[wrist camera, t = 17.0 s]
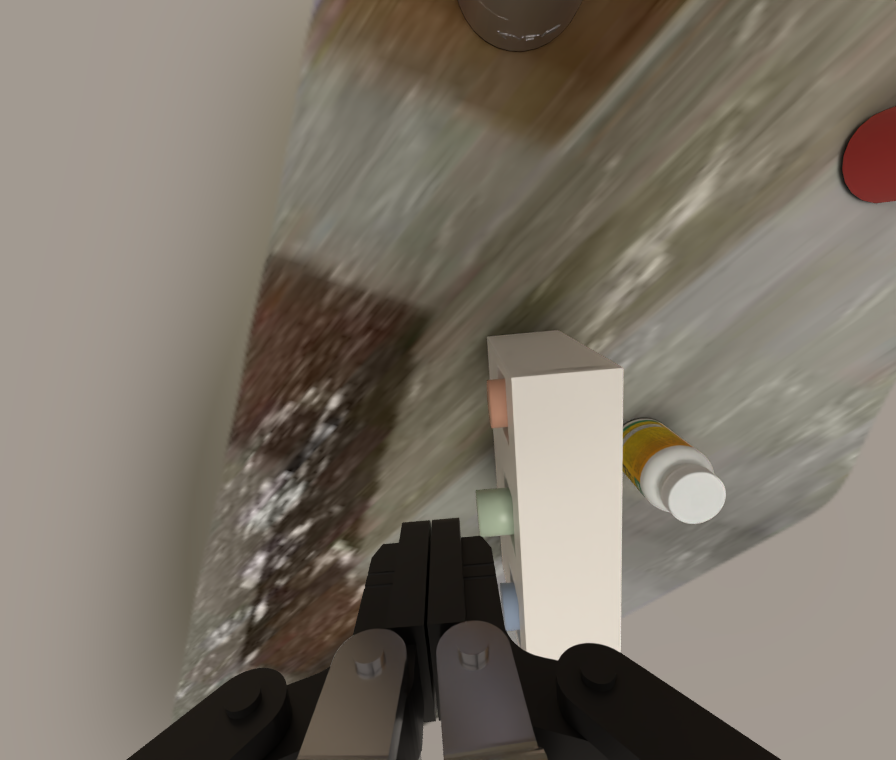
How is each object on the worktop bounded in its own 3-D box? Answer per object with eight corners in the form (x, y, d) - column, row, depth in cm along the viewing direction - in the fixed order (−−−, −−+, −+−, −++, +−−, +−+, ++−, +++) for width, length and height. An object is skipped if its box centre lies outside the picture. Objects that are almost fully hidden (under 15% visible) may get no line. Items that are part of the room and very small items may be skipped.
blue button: (499, 574, 35) (504, 604, 32) (545, 570, 35) (555, 600, 32) (501, 608, 36) (507, 641, 33) (546, 604, 36) (556, 637, 32)
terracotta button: (485, 374, 31) (490, 387, 28) (538, 370, 31) (548, 382, 28) (488, 418, 32) (493, 435, 28) (539, 414, 32) (550, 430, 28)
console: (486, 336, 38) (511, 377, 24) (558, 330, 38) (623, 367, 24) (502, 562, 43) (529, 699, 30) (564, 557, 43) (620, 692, 30)
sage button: (474, 482, 33) (478, 504, 30) (524, 477, 33) (532, 500, 30) (478, 520, 34) (481, 546, 31) (526, 516, 34) (534, 542, 30)
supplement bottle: (682, 437, 40) (753, 489, 31) (643, 482, 41) (701, 546, 32) (635, 405, 39) (695, 449, 30) (597, 452, 40) (643, 508, 31)
